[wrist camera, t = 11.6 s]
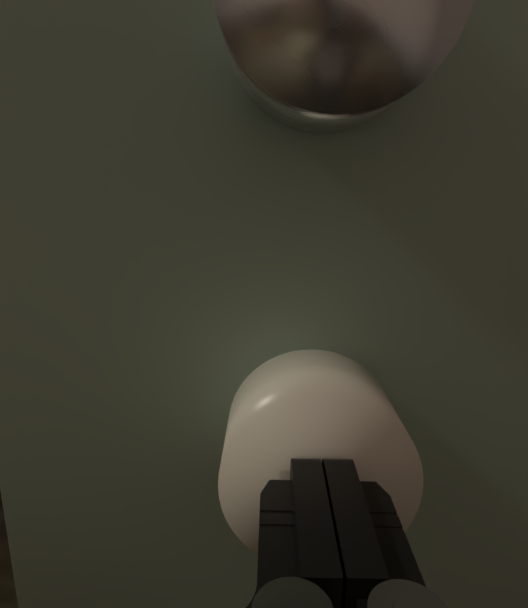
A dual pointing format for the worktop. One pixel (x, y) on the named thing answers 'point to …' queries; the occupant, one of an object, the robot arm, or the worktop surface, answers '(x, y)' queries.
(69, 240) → the block
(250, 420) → the lower knob
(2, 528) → the worktop surface
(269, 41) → the upper knob
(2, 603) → the worktop surface
